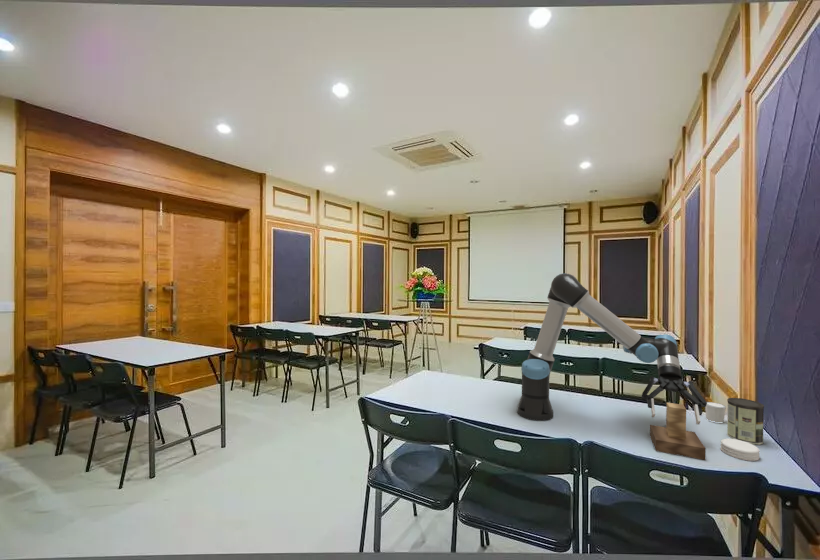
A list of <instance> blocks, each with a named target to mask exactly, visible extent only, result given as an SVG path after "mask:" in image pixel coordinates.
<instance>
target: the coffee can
mask: <svg viewBox="0 0 820 560" xmlns="http://www.w3.org/2000/svg"><path fill="white" fill-rule="evenodd" d="M764 409H765V405H764V404H763V403H761V402H758V401H756V400H752V399H747V398H741V397H729V398H728V397H727V421H726V422H727V426H726V427H727V432H726V435H727V436H728V438H729V439H736V440H741V441H744V442H747V443H750V444H752V445H754V446H758V445H759V446H760V445H763V444H764Z"/></svg>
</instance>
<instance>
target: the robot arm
mask: <svg viewBox="0 0 820 560" xmlns="http://www.w3.org/2000/svg"><path fill="white" fill-rule="evenodd" d="M547 300H548V302H549V303H548V306H547V309H546V310H545V311H546V312H545V314H544V318H543V320H542V324H541V327H540V329H539V330H540V331H539V334H538V336H537V340H536V342H535V346H534V348H533V349H532V350H530V351H529V352H528V353H529V354H528V357H527V359H525V360H523V362H522V363H521V368H520V369H521V396H520V399H519V402H518V404H517V410H516V411H517V414H518V416H521V417H522V418H525V419H528V420H531V421H540V422H541V421H548V420H549V421H550V420H551V419H553V418H554V410H553V407H552V404H551V400H550V378H551V377H550V376H551V373H552V369H553V366H554V363H555V357H554V355H553V354H554V351H555V350H556V349H555V348H556V346H557V343H558V339H559V337H560V333H561V331H562V327H563V325H564V322H565V320H566V319H565V318H566V316H567V313H568V311H569V310H568V309H569V308H576V309H578V310H579V311H580V312H581V313H582V314H584V315H585V316H586V317H587V318H589V320H591V321H592V322H594V324H596V325H597V326H598V327H600V328H601V329H602V330H603V331H604V332H606V333H607V334H608V335H609V336H610V337H612V338H613V339H614V340H616V341H617V342H618V343H619V344H620V345H622V350H623V352H624V353H626V354H627V353H628V354H631V355H634V356H635V357H636V358H637V360H639V361H640V362H643V363H645V364H651V363H654V362H655V361H656V362H657V363H656V364H657V373H658V378H656V377H654V376H652V375H651V376H650V377H649V382H648V383H647V385H646V387H645V388H644V390H643V391H642V393H641V398H642V399H644V400H646V402H647V408H649V409H651V410H650V411H651V418H653V419H654V418H655V416H656V410H655V409H656V408H655V399H654V398H655V397H656V396H657V395H659V394H660V393H661V392H662V391H667V392H674V393H675V392H678V393H679V394H681V395H682V396H683V397H684V398H686V399H687V400H688V401H689V402H690V403H691V404H693V410H694V417H695V422H696V423H695V424H696V425H698V426H699V425H700V424H701V416H702V414H703V409H702V408H705V407H706V405H707V402H708V401H706V399H705V398H704V397H703V395H701V393H700V392H699V390H698V389H697V388H696V387H695V384H694V382H693V381H692V380H688V381H684V380H683V378H682V372H681V371H682V370H681V365H680V358H679V352H678V351H679V350H678V345H677V341H676V338H675V337H674V336H672V335H670V334H666V333H665V334H658V335H657V336H655V338H650V337H649V338H648V337H643V336H641V335H640V334H639V333H638V332H637V331H636V330H634V329H633V328H632V327H630V326H629V325H628V324H627V323H626V322H624V321H623V320H622V319H620V318H619V317H618V316H617V315H616V314H615V313H613V312H612V311H610V310H609V309H608V308H607V307H606V306H604V305H603V304H602V303H600V302H599V301H598V300H597V299H596V298H595V297H593V296H591V294H590V291H589V290H588V289H587V288H586V287H585V286H583V285H582V284H581V282H579V280H578V279H577V277H575V276H574V275H573V274H570V273H565V272H564V273H559V274H558V275H556V276H554V278H553V279H552V281H551V284H550V288H549V291H548V294H547ZM656 383H658V384H659V385H658V386H657V387H656V388H655V389H654V390H652V391H651V389H652V388H653V385H655V384H656ZM684 386H685V387H686V388H687V389H688V390H689V391H688V390H687V389H686V388H685V387H684ZM650 391H651V392H650ZM690 392H691V393H690Z"/></svg>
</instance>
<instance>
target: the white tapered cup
mask: <svg viewBox="0 0 820 560" xmlns="http://www.w3.org/2000/svg"><path fill="white" fill-rule="evenodd" d="M706 402H707V405H706V407H704V408H705V409H704V410H705V419H706V418H707V419H708V420H711V421H715V422H725V415H726V409H727V406H726V405H724V404H721V403H718V402H714V401H713V402H711V401H706ZM707 419H706V420H707ZM708 420H707V421H708Z"/></svg>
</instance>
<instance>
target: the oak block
mask: <svg viewBox="0 0 820 560" xmlns="http://www.w3.org/2000/svg"><path fill="white" fill-rule="evenodd" d="M665 409H666V411H665V412H666V413H665V414H666V416H665V417H666V418H665V421H666V422H665V427H666V433H667V435H668V437H671V438H677V439H683V440H686V431H687V408H686V407H685V406H684V404H682V403H681V404H680V403H672V402H666V407H665Z"/></svg>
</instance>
